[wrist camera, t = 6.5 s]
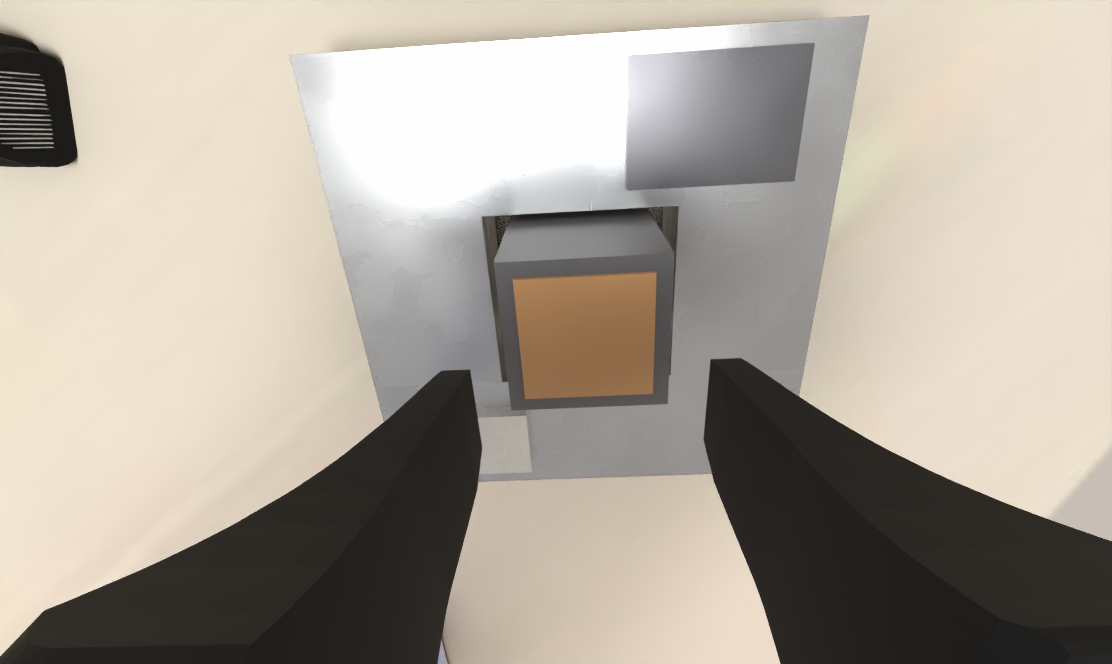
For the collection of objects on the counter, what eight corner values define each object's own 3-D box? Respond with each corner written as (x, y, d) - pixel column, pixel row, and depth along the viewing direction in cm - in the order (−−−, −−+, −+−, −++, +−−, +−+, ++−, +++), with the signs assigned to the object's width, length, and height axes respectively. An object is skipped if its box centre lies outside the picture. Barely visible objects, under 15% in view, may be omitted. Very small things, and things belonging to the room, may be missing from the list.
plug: (637, 307, 18) (668, 406, 13) (526, 312, 19) (511, 412, 13) (639, 194, 17) (675, 254, 11) (516, 201, 17) (493, 264, 11)
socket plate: (761, 428, 21) (791, 483, 18) (417, 440, 21) (395, 496, 19) (822, 23, 14) (883, 12, 12) (330, 57, 15) (276, 54, 12)
